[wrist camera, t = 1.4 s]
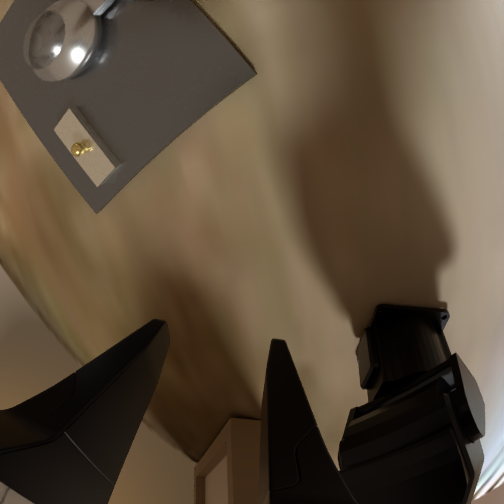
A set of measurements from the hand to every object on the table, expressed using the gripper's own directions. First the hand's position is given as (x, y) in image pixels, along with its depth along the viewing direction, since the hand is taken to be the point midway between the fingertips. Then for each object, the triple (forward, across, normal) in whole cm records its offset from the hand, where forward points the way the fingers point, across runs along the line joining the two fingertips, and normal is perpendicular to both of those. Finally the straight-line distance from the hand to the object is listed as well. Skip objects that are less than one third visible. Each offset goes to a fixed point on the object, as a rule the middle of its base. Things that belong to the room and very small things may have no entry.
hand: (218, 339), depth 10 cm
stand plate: (+12, +14, -11) cm, 22 cm away
